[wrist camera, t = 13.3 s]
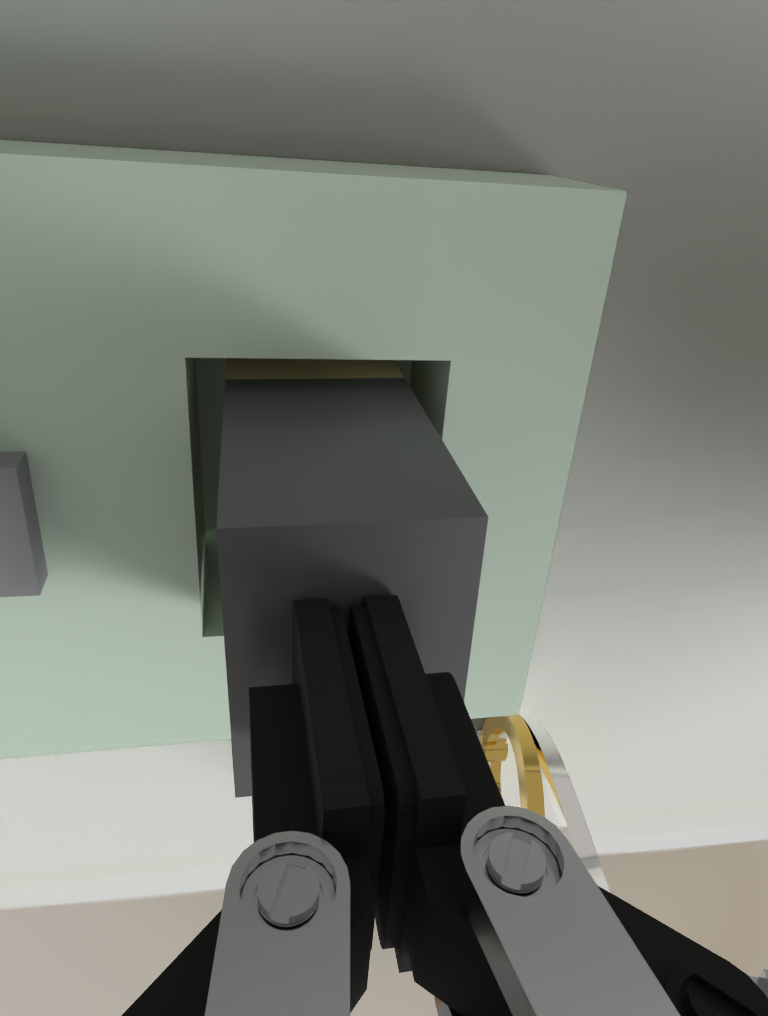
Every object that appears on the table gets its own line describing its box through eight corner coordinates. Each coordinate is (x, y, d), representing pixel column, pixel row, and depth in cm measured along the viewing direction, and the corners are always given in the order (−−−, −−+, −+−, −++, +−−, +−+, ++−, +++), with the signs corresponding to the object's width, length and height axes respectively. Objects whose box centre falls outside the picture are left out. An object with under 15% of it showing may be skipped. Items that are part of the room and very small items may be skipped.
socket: (551, 174, 18) (647, 195, 14) (478, 629, 25) (528, 735, 20) (-181, 128, 15) (-339, 136, 11) (-40, 661, 22) (-105, 793, 17)
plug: (386, 346, 19) (488, 516, 11) (376, 531, 21) (454, 774, 14) (226, 346, 18) (215, 529, 10) (237, 537, 21) (235, 797, 13)
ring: (460, 662, 25) (547, 872, 18) (546, 659, 26) (661, 861, 19) (431, 802, 28) (496, 1025, 22) (508, 796, 29) (595, 1010, 22)
